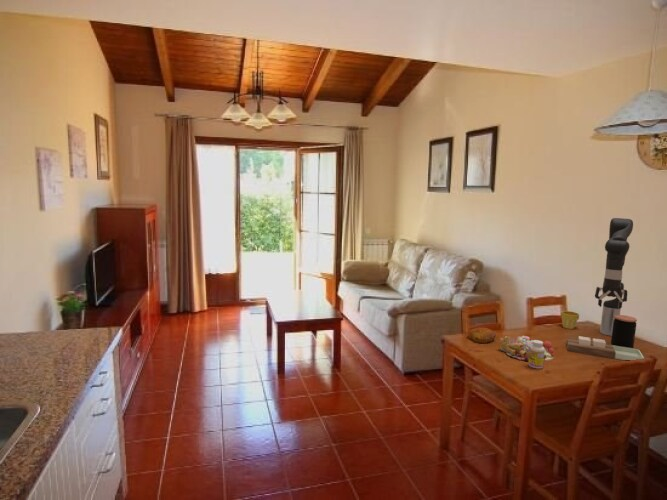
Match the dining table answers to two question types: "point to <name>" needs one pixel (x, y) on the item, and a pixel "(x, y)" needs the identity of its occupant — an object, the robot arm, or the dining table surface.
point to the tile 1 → (584, 341)
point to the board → (590, 349)
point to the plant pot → (569, 319)
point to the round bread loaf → (481, 335)
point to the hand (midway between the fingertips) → (609, 307)
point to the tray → (627, 353)
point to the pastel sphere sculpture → (523, 348)
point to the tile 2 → (599, 343)
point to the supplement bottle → (536, 354)
